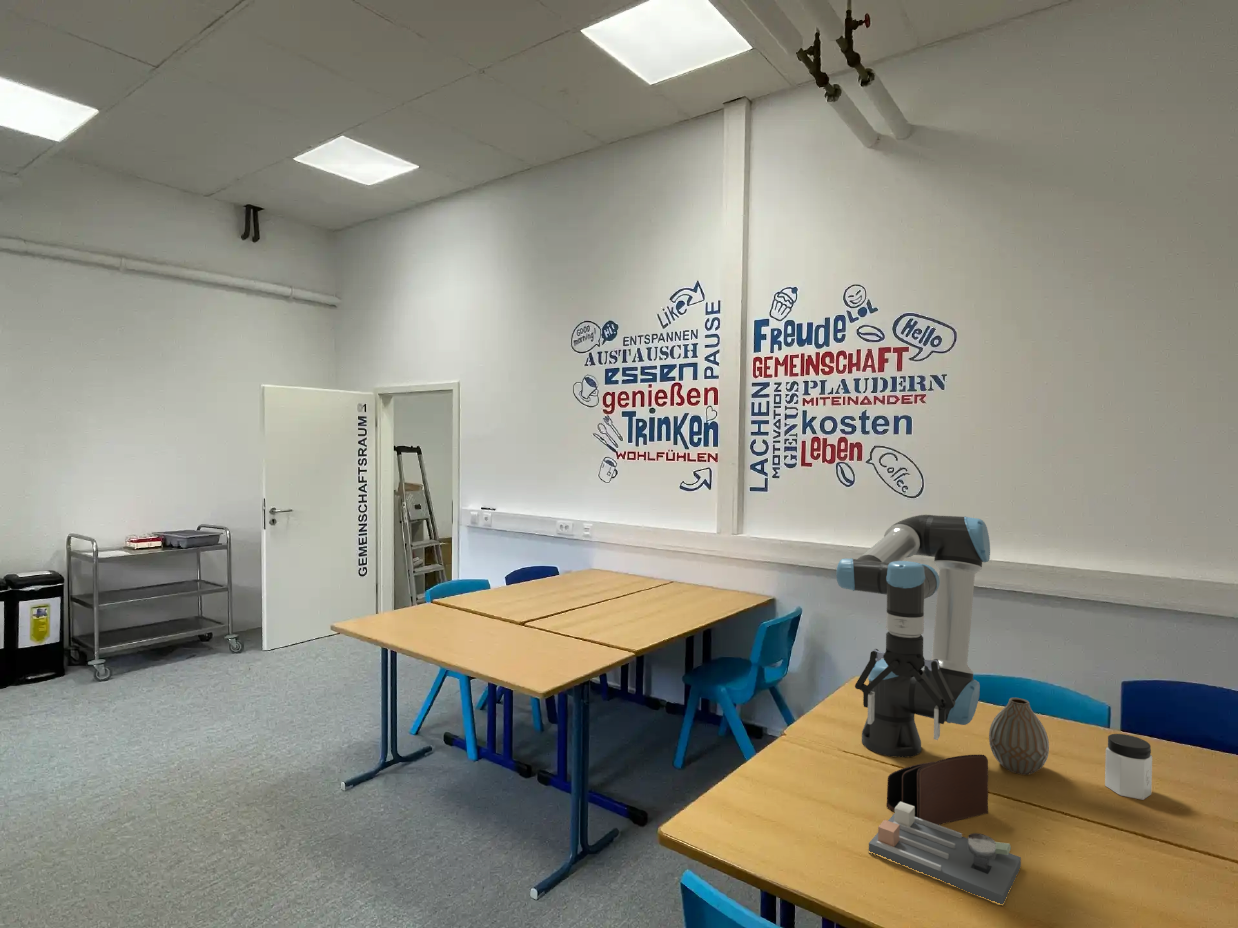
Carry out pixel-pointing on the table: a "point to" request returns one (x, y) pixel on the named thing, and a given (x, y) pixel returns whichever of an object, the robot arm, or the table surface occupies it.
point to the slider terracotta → (888, 833)
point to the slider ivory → (904, 814)
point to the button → (981, 849)
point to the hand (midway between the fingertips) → (902, 729)
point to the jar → (1128, 766)
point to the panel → (951, 859)
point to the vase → (1019, 738)
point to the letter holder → (942, 788)
